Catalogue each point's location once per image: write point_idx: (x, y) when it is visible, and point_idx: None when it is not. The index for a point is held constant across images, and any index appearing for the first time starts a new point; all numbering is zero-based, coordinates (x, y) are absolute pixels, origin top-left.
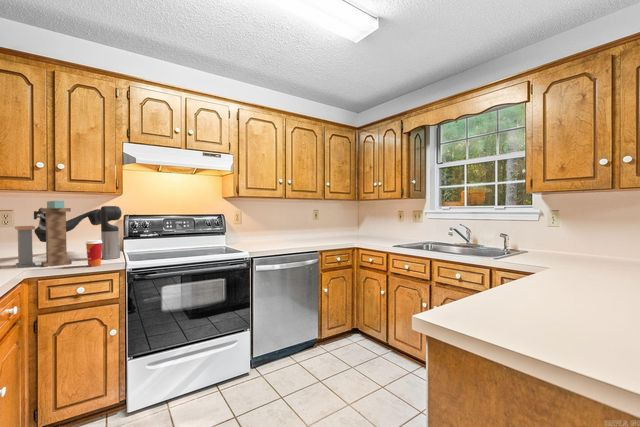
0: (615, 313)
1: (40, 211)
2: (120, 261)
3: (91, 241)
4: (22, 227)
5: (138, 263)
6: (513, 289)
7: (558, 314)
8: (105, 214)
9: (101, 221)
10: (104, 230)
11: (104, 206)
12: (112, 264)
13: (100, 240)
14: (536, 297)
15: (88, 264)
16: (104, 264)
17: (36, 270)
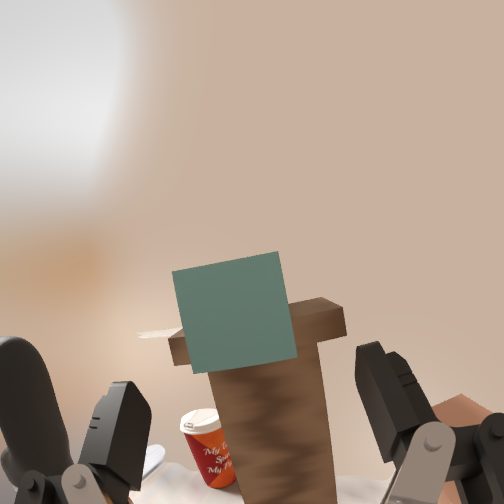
0: (168, 329)
1: (345, 331)
2: (139, 494)
3: (214, 409)
4: (441, 406)
5: (146, 452)
6: (144, 337)
7: (176, 330)
8: (49, 376)
9: (47, 427)
10: (72, 460)
11: (17, 337)
12: (182, 472)
13: (188, 413)
14: (155, 334)
15: (234, 472)
16: (193, 483)
17: (361, 482)
